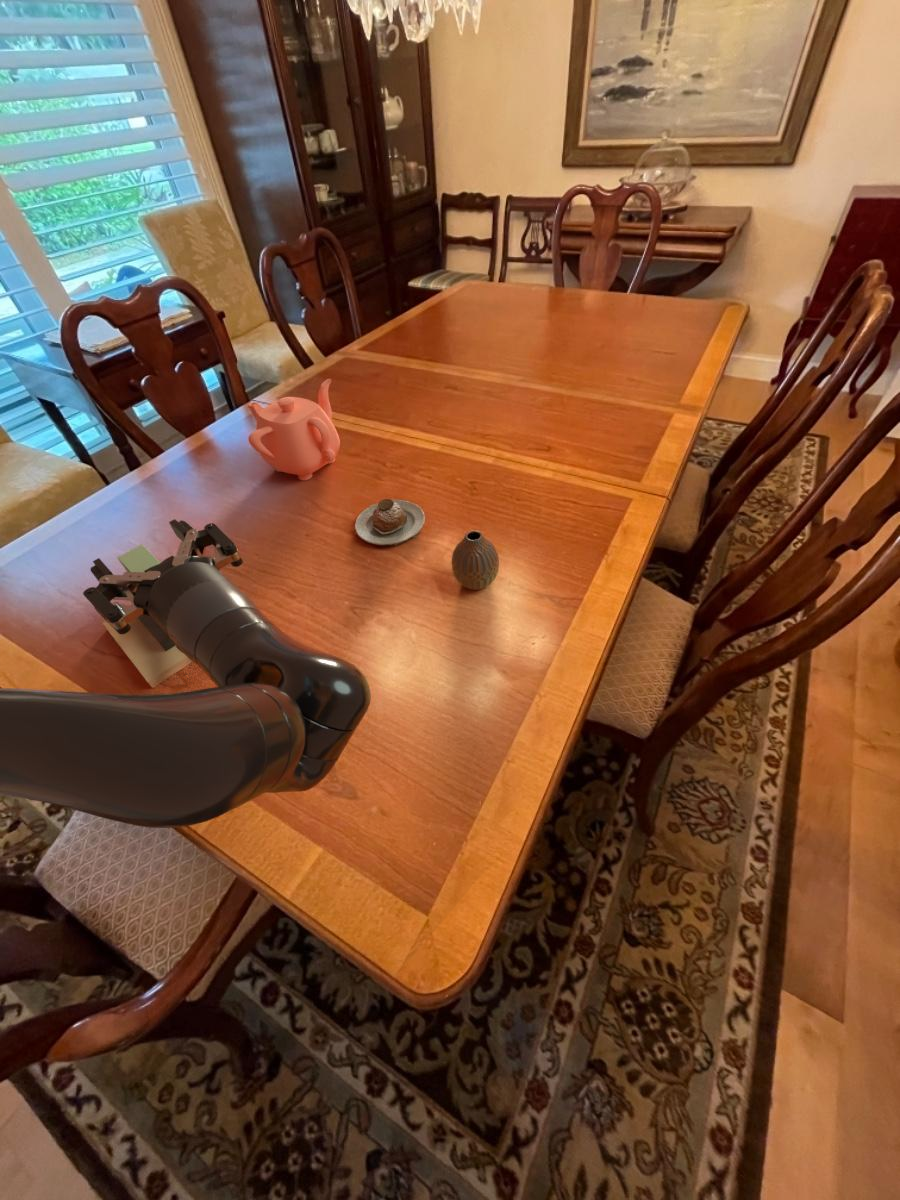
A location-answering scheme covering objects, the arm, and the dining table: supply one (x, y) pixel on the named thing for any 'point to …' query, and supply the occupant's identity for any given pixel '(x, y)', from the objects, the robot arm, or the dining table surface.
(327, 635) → the dining table surface
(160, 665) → the seat base
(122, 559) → the green rectangular block
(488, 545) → the vase
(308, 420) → the teapot
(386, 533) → the pastry
